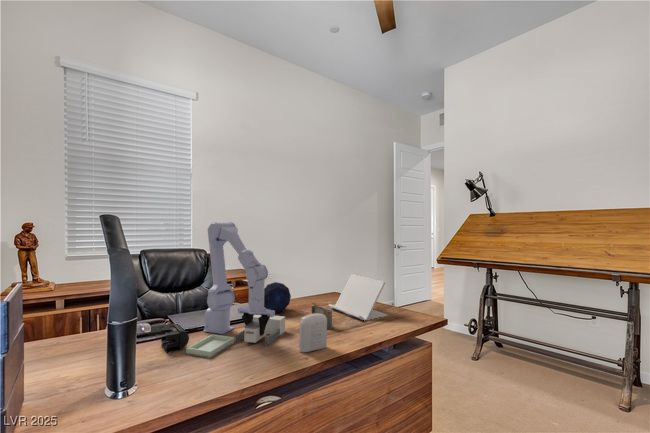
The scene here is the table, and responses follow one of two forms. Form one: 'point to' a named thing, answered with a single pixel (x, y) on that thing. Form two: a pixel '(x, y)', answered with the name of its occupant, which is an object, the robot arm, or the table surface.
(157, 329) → the smart home device
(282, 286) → the decorative orb
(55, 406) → the table surface
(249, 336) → the grey rectangular block
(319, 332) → the photo printer
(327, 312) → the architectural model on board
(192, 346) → the tray
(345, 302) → the tablet stand
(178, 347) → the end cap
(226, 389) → the table surface
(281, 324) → the printer bay
